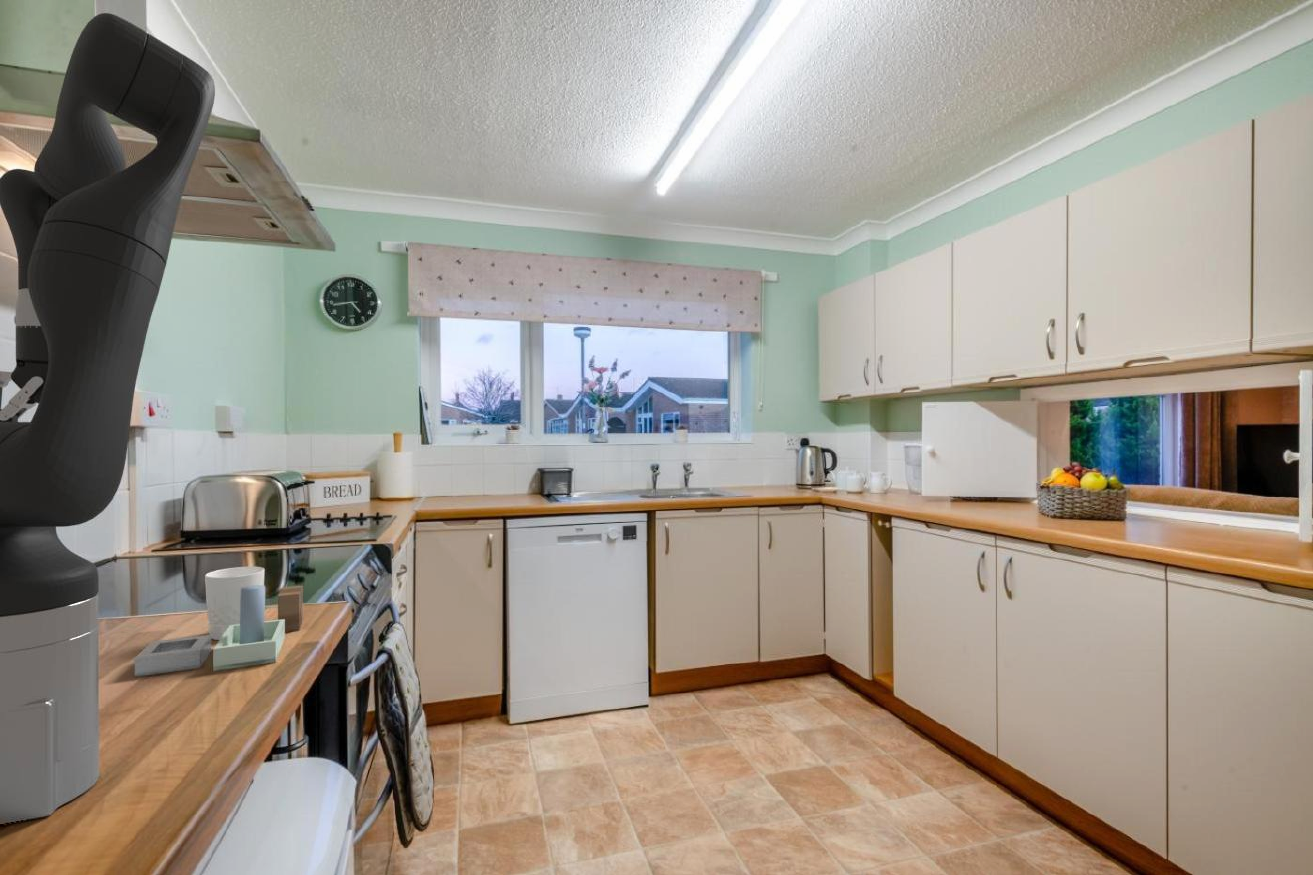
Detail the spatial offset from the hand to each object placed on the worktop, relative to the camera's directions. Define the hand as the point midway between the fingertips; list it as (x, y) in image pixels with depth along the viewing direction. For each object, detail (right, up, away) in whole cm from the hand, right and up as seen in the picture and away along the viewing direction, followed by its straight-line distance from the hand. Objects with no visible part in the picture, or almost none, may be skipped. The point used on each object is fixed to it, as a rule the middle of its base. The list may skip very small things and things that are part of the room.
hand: (57, 449), depth 80 cm
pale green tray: (+21, -30, +8) cm, 37 cm away
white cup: (+12, -30, +17) cm, 37 cm away
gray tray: (+13, -30, +4) cm, 33 cm away
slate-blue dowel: (+21, -30, +8) cm, 37 cm away
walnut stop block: (+19, -30, +20) cm, 41 cm away
